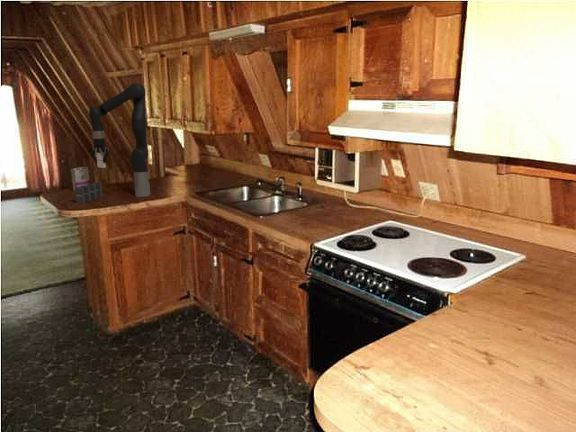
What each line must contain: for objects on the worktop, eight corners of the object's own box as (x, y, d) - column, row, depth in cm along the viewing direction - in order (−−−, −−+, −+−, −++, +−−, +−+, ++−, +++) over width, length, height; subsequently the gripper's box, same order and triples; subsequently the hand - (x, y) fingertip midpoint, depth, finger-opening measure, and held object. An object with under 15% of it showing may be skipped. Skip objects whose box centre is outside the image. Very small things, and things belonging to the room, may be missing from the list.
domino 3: (90, 198, 309) (89, 183, 306) (97, 198, 308) (95, 184, 305) (88, 198, 307) (87, 184, 304) (95, 199, 306) (93, 184, 303)
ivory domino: (99, 166, 315) (98, 152, 312) (105, 167, 313) (104, 152, 311) (97, 167, 313) (96, 152, 310) (103, 167, 311) (102, 153, 309)
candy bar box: (87, 188, 337) (85, 166, 332) (91, 189, 334) (88, 167, 329) (72, 190, 328) (70, 168, 324) (76, 191, 325) (74, 169, 321)
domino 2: (84, 200, 303) (83, 185, 300) (91, 200, 302) (89, 185, 299) (82, 200, 301) (81, 186, 298) (89, 201, 300) (87, 186, 297)
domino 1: (78, 202, 298) (77, 187, 295) (85, 202, 296) (83, 187, 294) (76, 202, 296) (74, 187, 293) (83, 203, 294) (81, 188, 292)
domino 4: (96, 196, 314) (95, 181, 312) (102, 196, 313) (101, 182, 310) (94, 196, 312) (93, 182, 310) (100, 197, 311) (99, 183, 308)
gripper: (111, 137, 309) (113, 162, 314) (93, 136, 313) (95, 161, 317) (104, 138, 302) (106, 164, 307) (85, 137, 306) (88, 162, 310)
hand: (101, 162), depth 312 cm, fingers closed on ivory domino, 5 cm apart
